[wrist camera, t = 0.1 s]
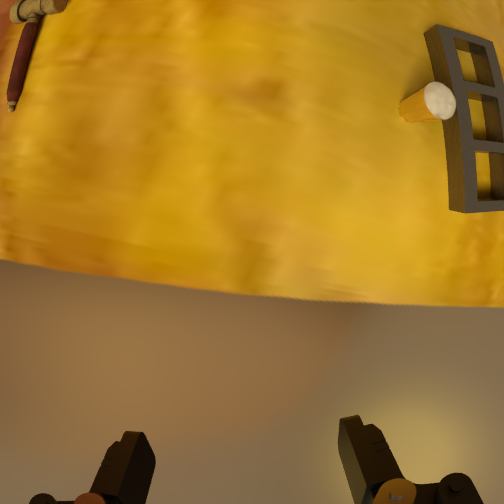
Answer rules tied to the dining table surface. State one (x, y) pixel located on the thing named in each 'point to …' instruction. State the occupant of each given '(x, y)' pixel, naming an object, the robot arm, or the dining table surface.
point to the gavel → (27, 39)
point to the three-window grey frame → (459, 125)
